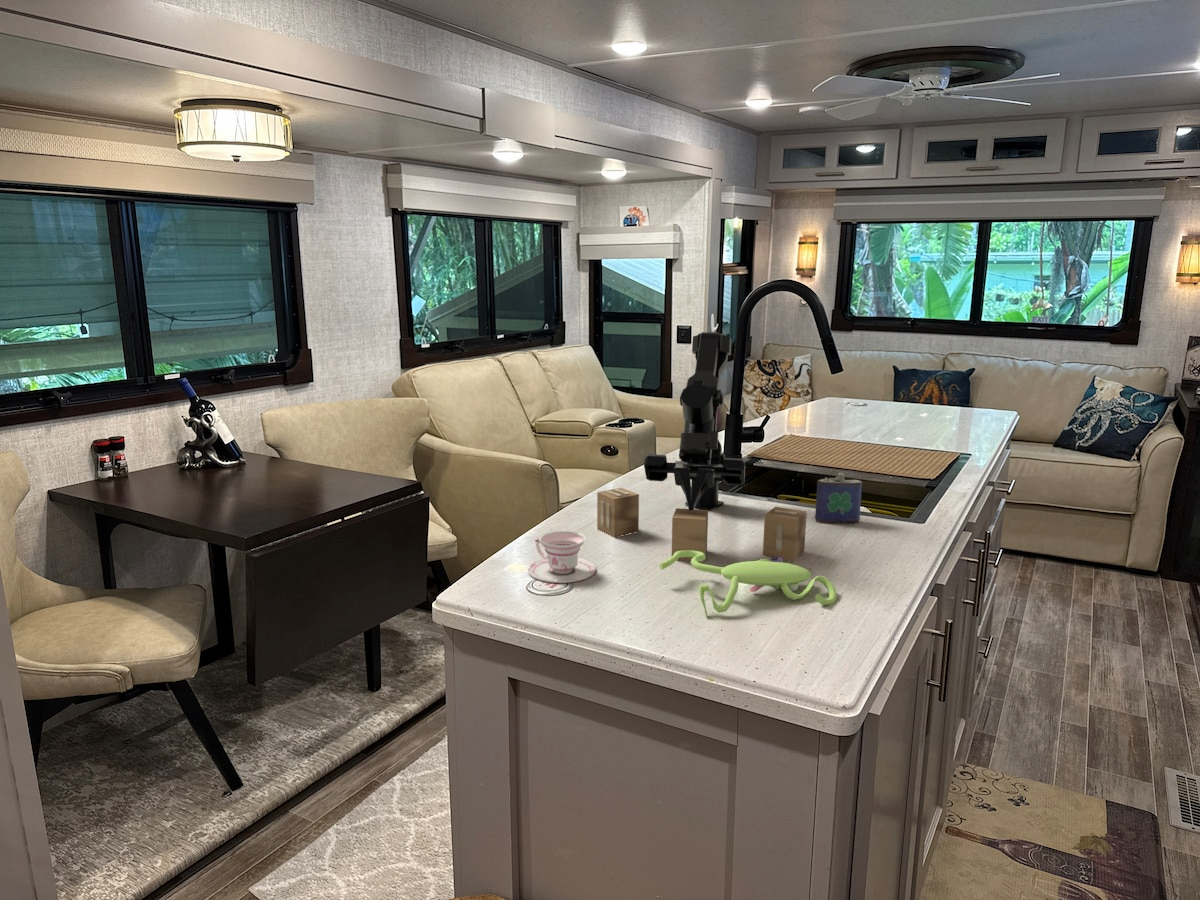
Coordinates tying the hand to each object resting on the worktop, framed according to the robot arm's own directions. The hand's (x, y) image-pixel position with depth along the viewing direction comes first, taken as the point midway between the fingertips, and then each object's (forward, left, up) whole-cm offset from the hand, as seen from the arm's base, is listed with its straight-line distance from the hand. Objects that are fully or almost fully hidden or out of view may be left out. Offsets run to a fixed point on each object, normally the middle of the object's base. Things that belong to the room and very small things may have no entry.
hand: (690, 509), depth 150 cm
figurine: (+9, +17, -9) cm, 21 cm away
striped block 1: (-2, -19, -9) cm, 21 cm away
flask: (-37, +12, -9) cm, 40 cm away
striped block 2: (-12, +13, -9) cm, 20 cm away
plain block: (0, 0, -9) cm, 9 cm away
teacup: (+22, -12, -9) cm, 27 cm away
